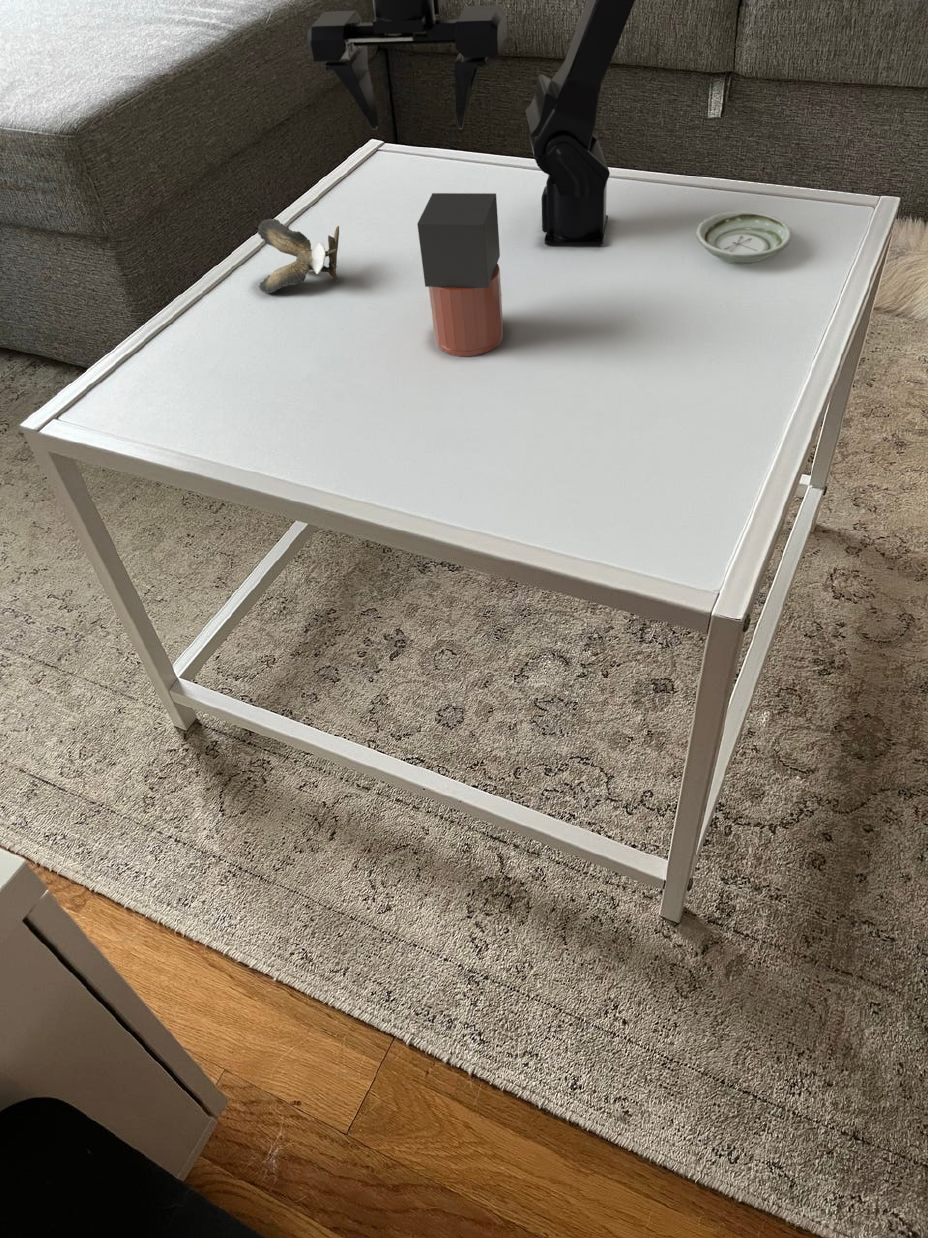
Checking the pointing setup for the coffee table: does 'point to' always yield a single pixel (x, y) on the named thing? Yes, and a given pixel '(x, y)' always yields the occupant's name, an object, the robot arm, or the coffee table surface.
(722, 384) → the coffee table surface
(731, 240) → the saucer
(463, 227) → the block
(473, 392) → the coffee table surface
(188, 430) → the coffee table surface
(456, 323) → the cup
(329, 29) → the robot arm
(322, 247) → the eagle figurine
